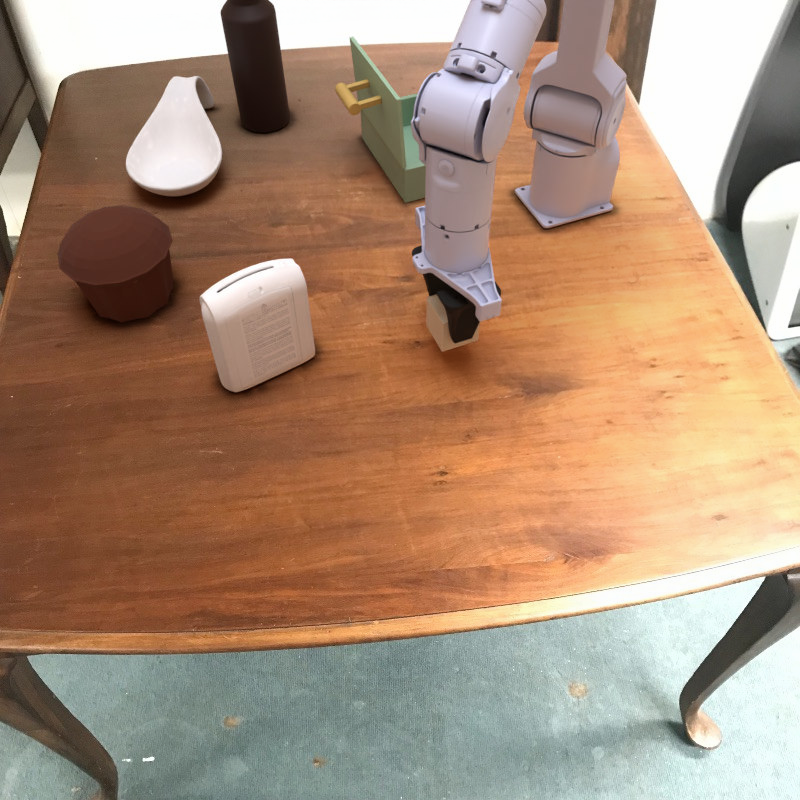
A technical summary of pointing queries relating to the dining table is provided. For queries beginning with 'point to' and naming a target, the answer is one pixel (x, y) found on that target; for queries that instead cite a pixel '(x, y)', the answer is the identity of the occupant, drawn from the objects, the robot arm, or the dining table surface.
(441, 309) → the block
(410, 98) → the compartment
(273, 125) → the bottle
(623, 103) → the robot arm
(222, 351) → the photo printer
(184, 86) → the spoon rest
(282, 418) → the dining table surface
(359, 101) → the compartment door
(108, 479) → the dining table surface
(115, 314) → the muffin
